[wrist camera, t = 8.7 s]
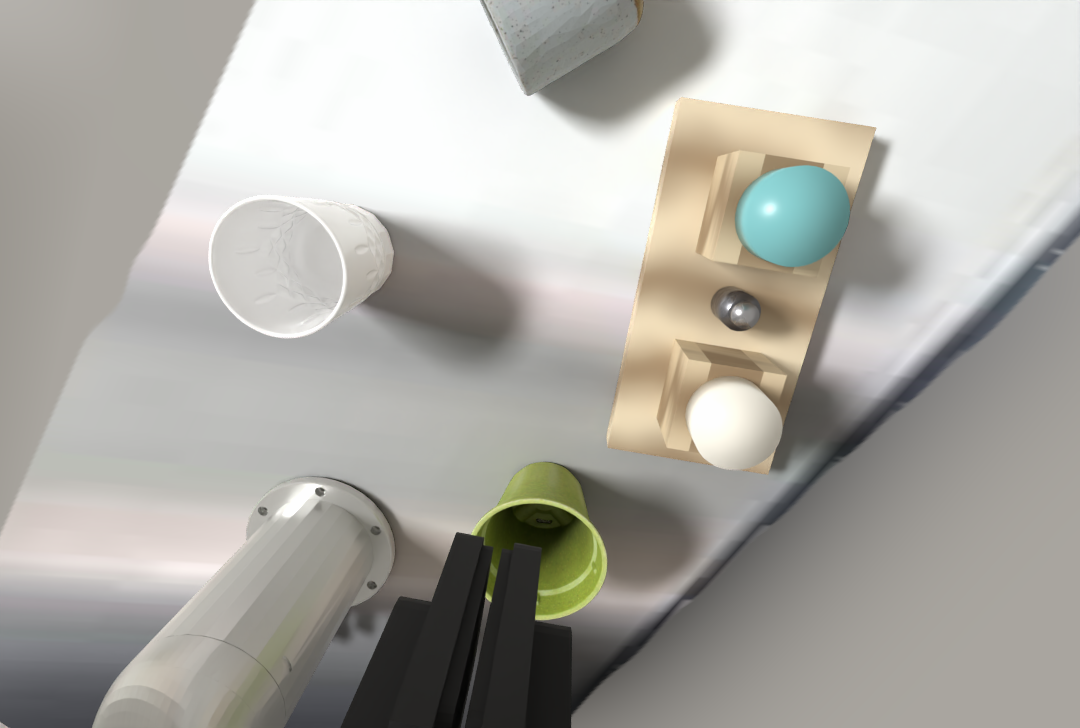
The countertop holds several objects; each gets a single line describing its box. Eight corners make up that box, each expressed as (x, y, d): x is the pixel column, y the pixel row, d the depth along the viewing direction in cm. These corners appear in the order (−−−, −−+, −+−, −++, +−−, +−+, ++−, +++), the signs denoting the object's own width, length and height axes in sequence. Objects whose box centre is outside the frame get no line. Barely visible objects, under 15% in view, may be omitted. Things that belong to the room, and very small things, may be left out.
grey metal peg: (741, 323, 37) (760, 338, 34) (706, 317, 37) (721, 331, 34) (750, 289, 37) (771, 300, 33) (715, 283, 37) (731, 293, 33)
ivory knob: (734, 425, 39) (768, 476, 32) (665, 413, 39) (684, 462, 32) (752, 359, 38) (793, 397, 31) (680, 347, 38) (704, 383, 31)
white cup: (418, 225, 39) (366, 235, 29) (380, 322, 41) (321, 361, 32) (315, 175, 38) (228, 169, 29) (283, 276, 41) (192, 301, 31)
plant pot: (487, 540, 46) (467, 615, 38) (486, 438, 44) (465, 495, 35) (598, 547, 46) (603, 625, 37) (605, 444, 43) (611, 504, 35)
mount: (759, 461, 42) (793, 511, 36) (606, 436, 43) (611, 481, 36) (860, 131, 35) (926, 116, 29) (675, 102, 36) (698, 80, 29)
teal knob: (781, 258, 36) (832, 274, 29) (705, 246, 36) (737, 258, 29) (804, 178, 34) (863, 173, 27) (724, 165, 34) (763, 157, 27)
